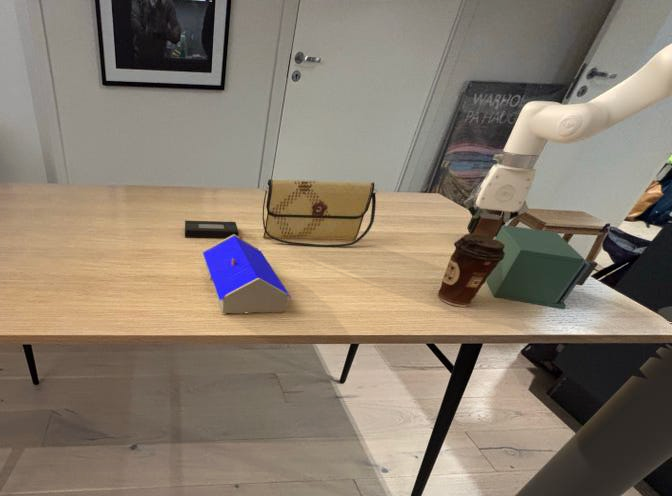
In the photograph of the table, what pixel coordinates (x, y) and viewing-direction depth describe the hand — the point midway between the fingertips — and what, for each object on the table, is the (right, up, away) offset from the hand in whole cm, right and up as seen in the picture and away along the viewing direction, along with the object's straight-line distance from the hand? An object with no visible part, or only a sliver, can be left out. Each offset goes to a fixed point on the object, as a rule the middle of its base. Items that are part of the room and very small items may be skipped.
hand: (482, 233), depth 107 cm
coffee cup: (-25, -22, -25) cm, 41 cm away
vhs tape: (-75, 0, +1) cm, 75 cm away
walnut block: (0, 0, 0) cm, 0 cm away
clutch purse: (-48, -3, -2) cm, 48 cm away
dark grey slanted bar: (0, -21, -24) cm, 32 cm away
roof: (-70, -19, -23) cm, 76 cm away
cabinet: (-6, -18, -19) cm, 27 cm away
